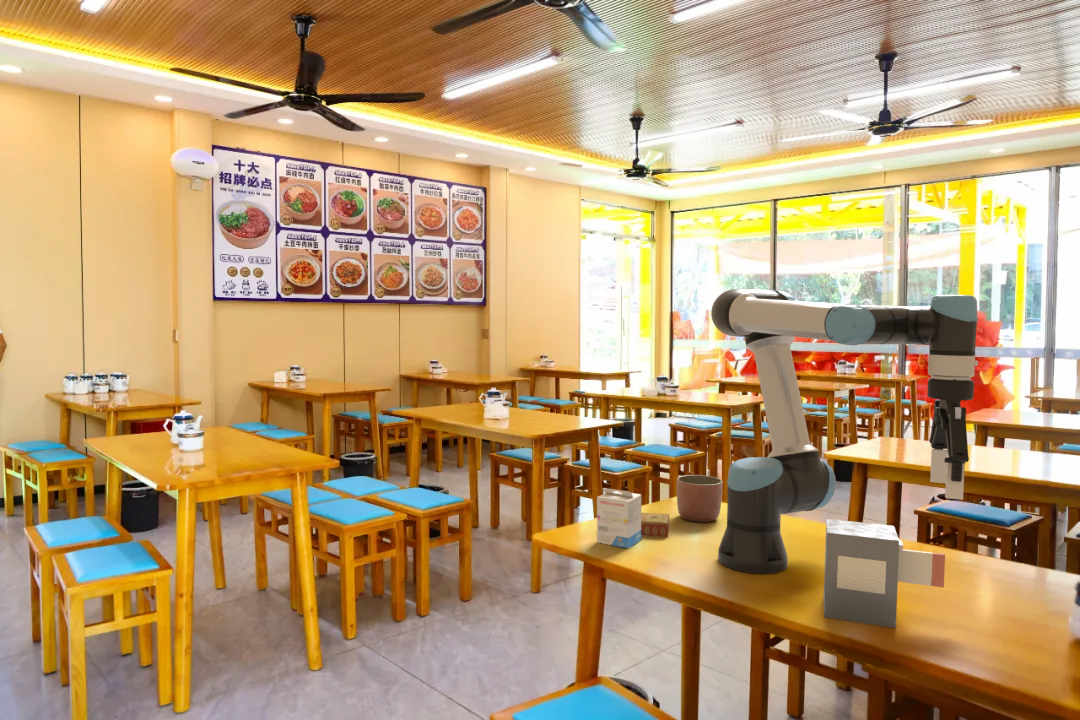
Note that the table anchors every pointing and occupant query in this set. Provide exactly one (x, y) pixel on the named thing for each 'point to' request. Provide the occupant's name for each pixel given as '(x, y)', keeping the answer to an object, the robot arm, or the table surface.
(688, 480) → the planter
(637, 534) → the ink box
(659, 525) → the carton
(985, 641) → the table surface
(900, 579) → the pink-tipped white stick
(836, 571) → the dispenser
